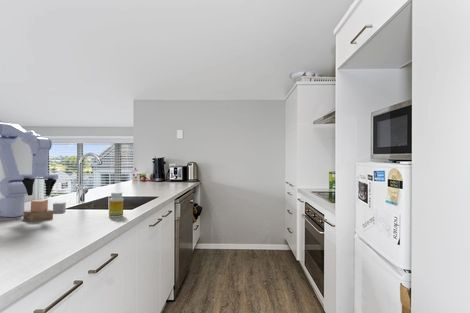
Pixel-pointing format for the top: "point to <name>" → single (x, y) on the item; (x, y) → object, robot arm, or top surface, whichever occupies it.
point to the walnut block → (37, 215)
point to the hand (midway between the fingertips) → (39, 195)
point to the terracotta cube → (39, 205)
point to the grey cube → (59, 207)
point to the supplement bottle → (116, 205)
